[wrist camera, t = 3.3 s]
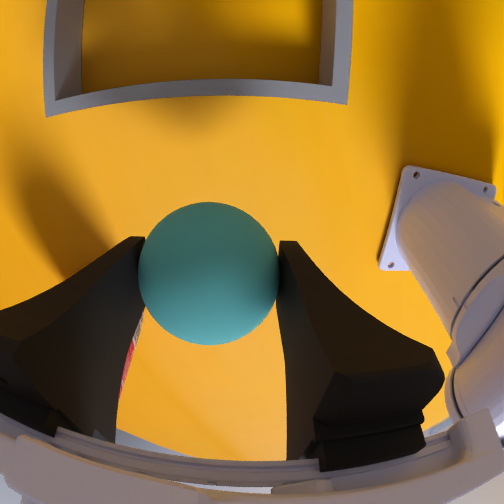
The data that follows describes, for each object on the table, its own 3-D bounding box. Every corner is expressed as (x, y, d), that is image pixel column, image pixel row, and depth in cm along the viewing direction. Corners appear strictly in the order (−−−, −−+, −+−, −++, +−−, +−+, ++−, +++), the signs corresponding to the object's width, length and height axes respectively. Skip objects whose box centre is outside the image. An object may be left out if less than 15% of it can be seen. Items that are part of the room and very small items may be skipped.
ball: (277, 182, 11) (299, 255, 7) (269, 284, 14) (279, 373, 10) (150, 182, 11) (99, 252, 7) (164, 282, 14) (140, 367, 9)
